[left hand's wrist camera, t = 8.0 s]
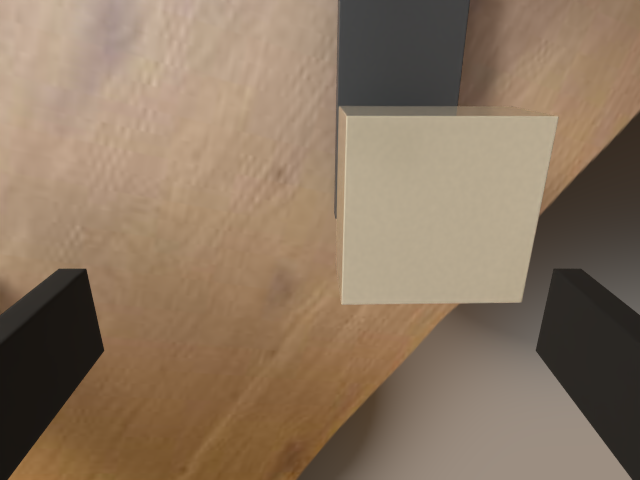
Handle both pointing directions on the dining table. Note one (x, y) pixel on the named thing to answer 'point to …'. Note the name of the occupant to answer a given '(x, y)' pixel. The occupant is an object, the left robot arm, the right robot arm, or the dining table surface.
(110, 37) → the dining table surface
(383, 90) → the grey base with post
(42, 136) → the dining table surface
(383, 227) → the beige square block
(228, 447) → the dining table surface
